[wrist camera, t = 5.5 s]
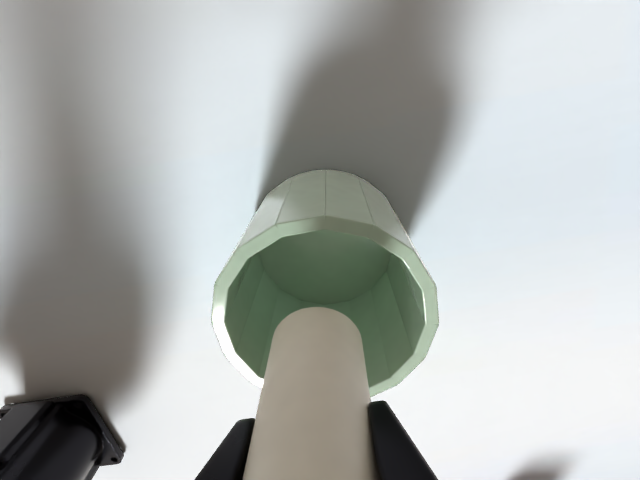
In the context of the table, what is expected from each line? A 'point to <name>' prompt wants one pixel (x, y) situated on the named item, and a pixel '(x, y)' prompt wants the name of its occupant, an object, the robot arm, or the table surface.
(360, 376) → the glue stick
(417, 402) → the table surface
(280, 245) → the pen holder
